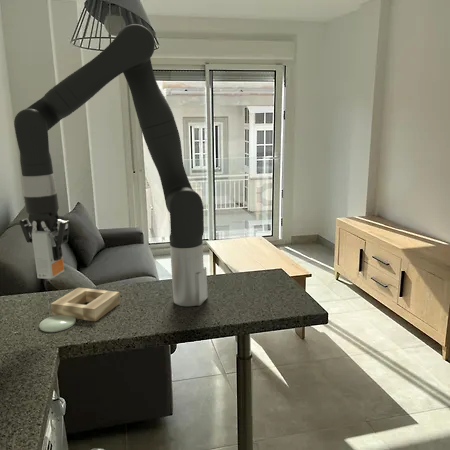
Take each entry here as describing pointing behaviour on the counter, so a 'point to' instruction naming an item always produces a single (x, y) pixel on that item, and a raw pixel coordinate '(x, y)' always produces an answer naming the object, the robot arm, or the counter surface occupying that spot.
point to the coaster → (57, 323)
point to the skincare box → (45, 256)
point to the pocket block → (94, 310)
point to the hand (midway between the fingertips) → (49, 258)
